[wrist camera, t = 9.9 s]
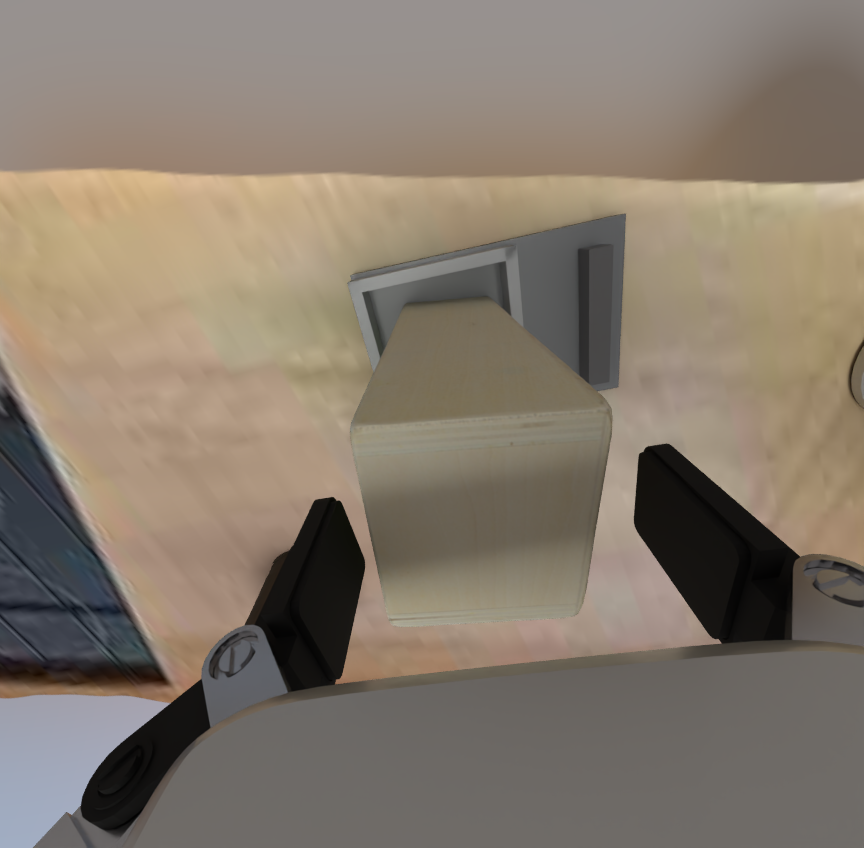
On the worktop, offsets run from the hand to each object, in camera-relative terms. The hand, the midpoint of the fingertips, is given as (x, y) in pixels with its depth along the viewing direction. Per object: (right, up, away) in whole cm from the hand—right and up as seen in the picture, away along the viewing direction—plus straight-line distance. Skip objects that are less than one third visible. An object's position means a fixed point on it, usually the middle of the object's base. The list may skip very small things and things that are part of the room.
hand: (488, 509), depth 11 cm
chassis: (+3, +10, +18) cm, 21 cm away
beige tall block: (-1, +9, +18) cm, 20 cm away
